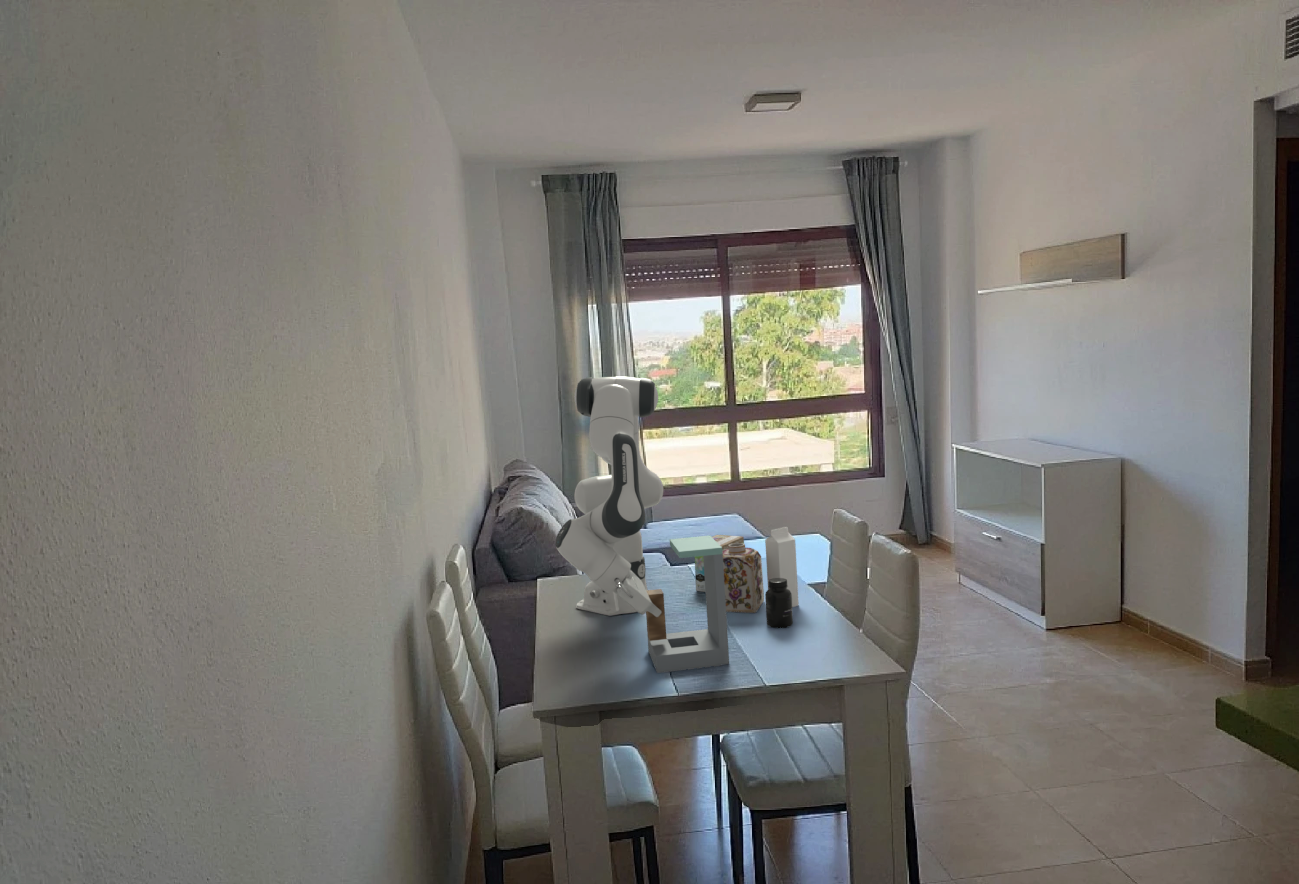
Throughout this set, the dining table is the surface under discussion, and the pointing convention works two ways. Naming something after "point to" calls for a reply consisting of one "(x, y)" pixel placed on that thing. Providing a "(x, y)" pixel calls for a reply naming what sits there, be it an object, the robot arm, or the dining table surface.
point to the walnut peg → (656, 624)
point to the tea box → (699, 562)
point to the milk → (782, 560)
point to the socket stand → (713, 641)
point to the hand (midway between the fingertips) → (657, 610)
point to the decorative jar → (742, 579)
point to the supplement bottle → (778, 604)
